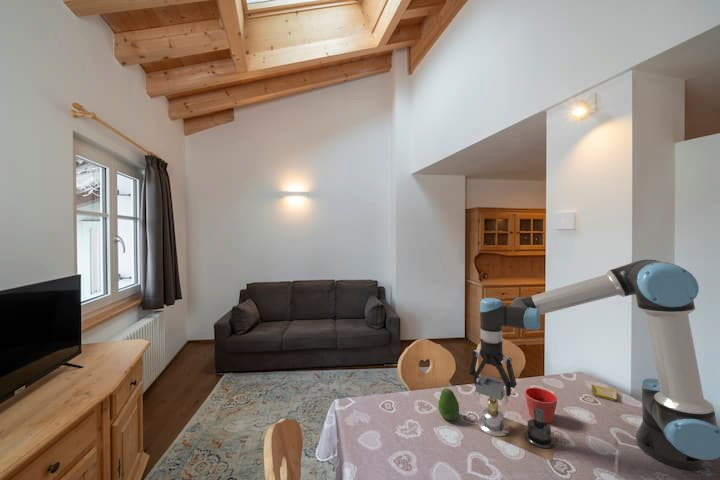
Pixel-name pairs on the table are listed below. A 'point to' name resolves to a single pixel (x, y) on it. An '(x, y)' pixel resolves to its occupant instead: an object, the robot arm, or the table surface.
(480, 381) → the grey slotted housing
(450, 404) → the fruit
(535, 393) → the flower pot
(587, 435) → the table surface
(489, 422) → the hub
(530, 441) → the stand
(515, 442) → the board
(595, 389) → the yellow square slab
